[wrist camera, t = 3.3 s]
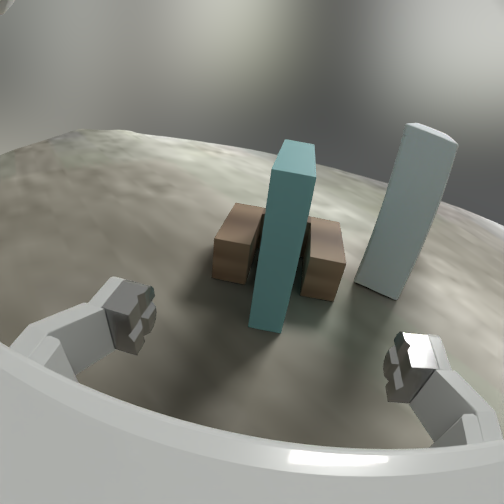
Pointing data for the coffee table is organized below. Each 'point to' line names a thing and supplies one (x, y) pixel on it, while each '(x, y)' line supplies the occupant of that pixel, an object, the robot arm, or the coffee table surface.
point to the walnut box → (313, 252)
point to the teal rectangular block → (282, 233)
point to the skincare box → (407, 209)
